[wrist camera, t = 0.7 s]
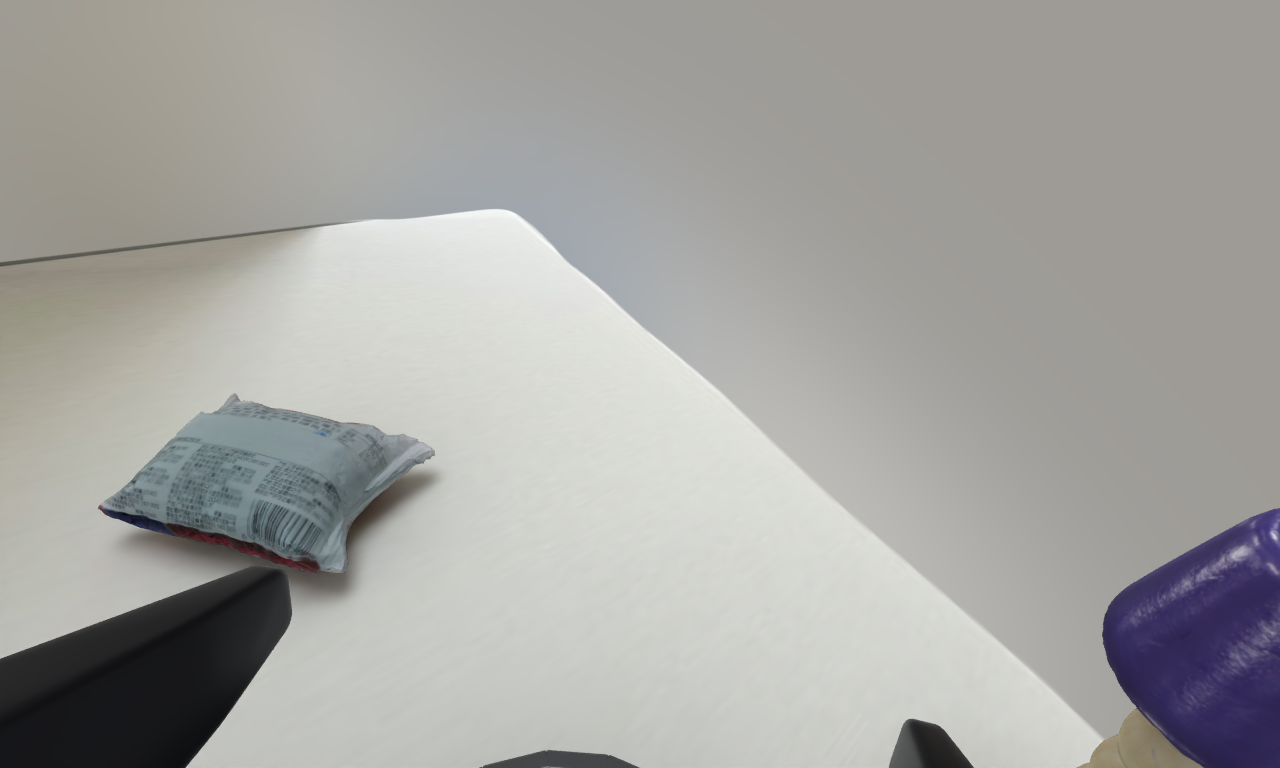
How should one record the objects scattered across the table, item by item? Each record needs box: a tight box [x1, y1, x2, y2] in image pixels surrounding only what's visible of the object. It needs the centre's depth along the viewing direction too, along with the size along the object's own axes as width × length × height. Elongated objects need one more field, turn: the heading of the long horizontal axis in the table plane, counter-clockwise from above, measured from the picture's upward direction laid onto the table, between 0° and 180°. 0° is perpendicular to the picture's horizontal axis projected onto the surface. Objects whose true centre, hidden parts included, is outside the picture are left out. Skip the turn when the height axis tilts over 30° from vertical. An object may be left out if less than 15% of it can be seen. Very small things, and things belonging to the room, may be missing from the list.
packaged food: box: [98, 394, 435, 573], centre depth 30 cm, size 9×12×5 cm
